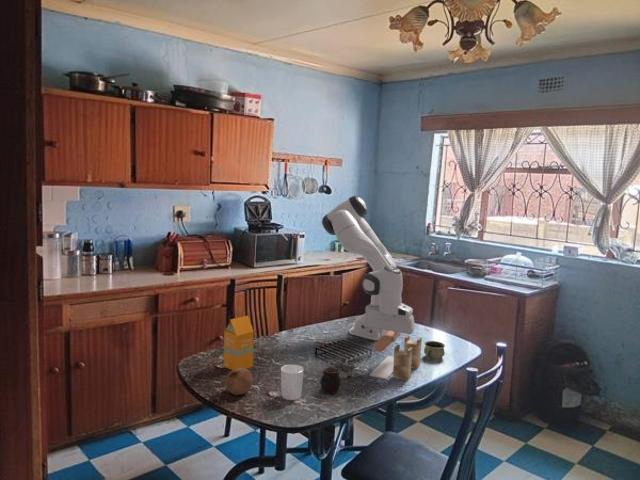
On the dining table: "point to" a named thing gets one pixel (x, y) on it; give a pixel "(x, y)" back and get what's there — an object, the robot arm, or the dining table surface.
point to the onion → (239, 381)
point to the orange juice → (238, 343)
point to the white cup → (291, 381)
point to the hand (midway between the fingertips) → (388, 340)
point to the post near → (402, 363)
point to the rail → (384, 341)
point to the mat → (384, 369)
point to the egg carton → (345, 367)
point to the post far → (414, 350)
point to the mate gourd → (330, 380)
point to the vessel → (434, 350)
